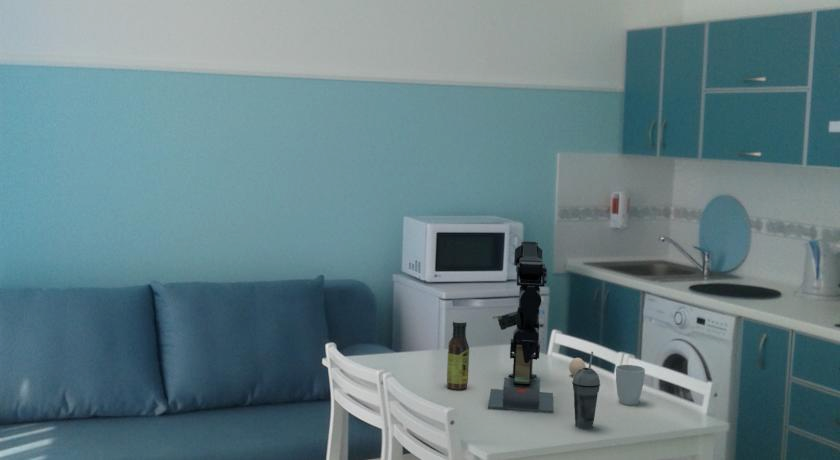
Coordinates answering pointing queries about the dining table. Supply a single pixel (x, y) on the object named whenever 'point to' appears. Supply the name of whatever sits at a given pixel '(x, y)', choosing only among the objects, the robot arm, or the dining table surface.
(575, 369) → the egg
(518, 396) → the stand
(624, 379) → the cup
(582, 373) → the beverage cup
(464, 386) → the sauce bottle
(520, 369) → the post
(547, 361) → the dining table surface
